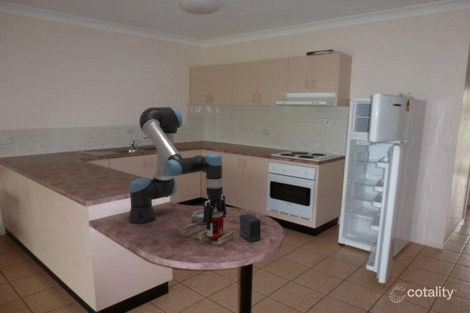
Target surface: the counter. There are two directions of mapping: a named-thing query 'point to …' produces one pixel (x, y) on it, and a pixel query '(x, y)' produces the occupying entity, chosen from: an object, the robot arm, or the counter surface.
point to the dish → (199, 217)
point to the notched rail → (207, 239)
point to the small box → (250, 227)
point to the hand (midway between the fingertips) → (215, 232)
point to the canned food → (217, 224)
